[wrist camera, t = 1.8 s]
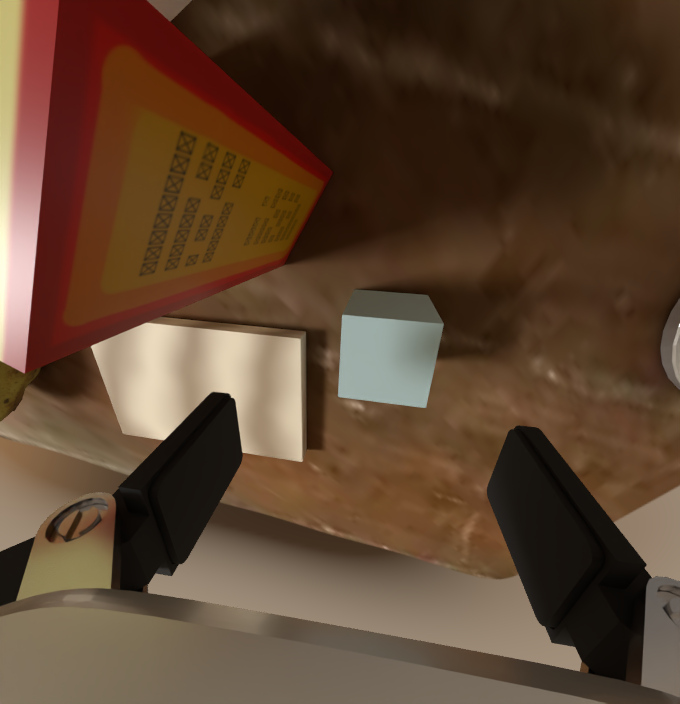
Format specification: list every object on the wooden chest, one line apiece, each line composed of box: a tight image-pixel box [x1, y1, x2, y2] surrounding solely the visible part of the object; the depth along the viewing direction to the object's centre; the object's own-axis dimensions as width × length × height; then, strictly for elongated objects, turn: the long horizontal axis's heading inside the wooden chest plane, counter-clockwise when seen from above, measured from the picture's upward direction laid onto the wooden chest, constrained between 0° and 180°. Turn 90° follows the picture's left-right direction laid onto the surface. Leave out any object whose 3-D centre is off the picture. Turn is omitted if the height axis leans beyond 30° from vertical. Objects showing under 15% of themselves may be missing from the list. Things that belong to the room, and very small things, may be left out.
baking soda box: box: [0, 0, 333, 374], centre depth 10 cm, size 10×6×16 cm
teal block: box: [338, 289, 444, 408], centre depth 18 cm, size 5×5×6 cm
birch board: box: [91, 317, 307, 462], centre depth 24 cm, size 18×12×2 cm, turn 87°
